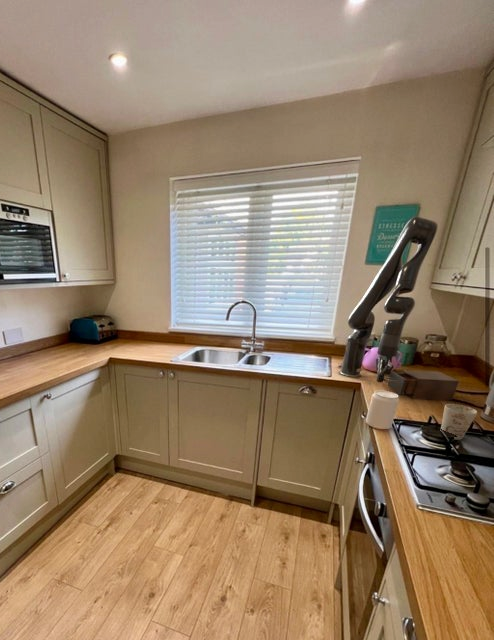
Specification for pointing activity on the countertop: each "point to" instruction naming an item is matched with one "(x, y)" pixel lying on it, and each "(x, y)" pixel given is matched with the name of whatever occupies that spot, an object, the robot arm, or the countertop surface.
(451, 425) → the mug
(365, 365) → the teapot
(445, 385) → the cabinet
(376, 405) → the white canister
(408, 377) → the ramekin
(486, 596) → the countertop surface
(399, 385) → the drawer
